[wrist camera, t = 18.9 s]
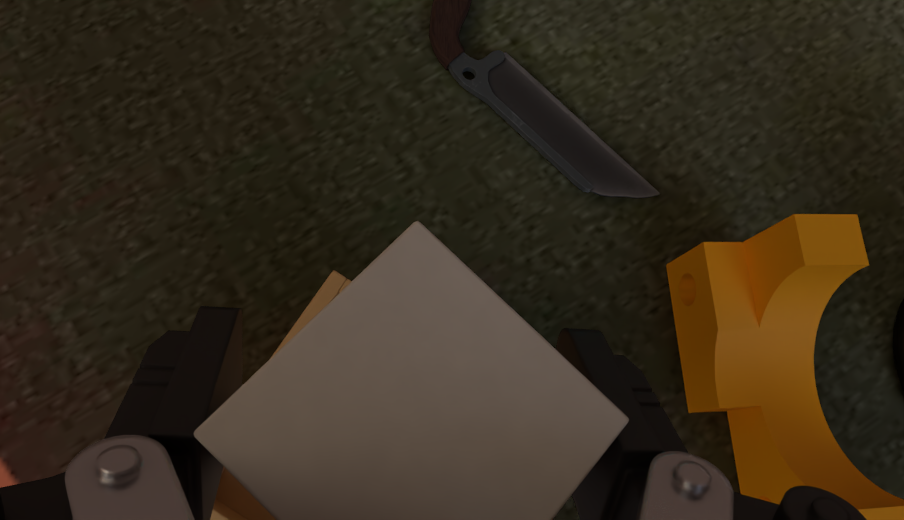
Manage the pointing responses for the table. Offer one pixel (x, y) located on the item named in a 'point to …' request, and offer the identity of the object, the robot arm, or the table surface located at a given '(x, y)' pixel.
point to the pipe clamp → (771, 353)
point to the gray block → (414, 405)
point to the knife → (533, 111)
